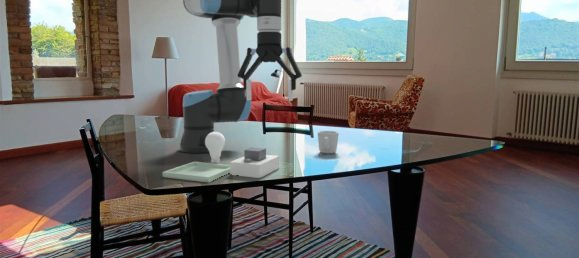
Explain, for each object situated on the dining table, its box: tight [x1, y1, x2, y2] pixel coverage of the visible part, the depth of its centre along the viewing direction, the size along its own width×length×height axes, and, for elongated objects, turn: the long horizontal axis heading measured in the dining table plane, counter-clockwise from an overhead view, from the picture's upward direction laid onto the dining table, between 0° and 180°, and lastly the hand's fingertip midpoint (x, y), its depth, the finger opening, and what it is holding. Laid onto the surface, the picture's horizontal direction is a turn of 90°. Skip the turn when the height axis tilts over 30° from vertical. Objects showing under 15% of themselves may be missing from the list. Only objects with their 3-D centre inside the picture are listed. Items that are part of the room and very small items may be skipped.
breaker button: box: [243, 147, 267, 161], centre depth 131 cm, size 5×5×4 cm
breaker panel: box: [229, 154, 280, 179], centre depth 131 cm, size 10×14×5 cm
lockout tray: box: [162, 161, 230, 183], centre depth 128 cm, size 16×16×2 cm
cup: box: [317, 130, 339, 155], centre depth 160 cm, size 11×8×8 cm
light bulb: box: [205, 131, 226, 164], centre depth 141 cm, size 7×7×11 cm
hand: (269, 100), depth 133 cm, fingers open, 13 cm apart
